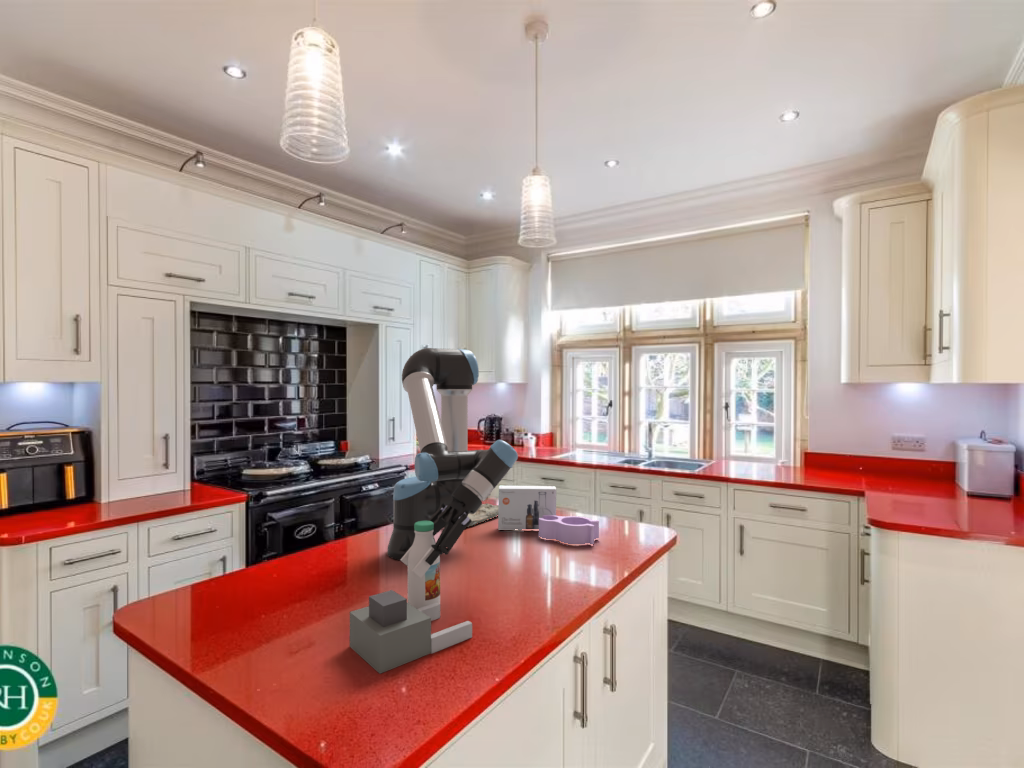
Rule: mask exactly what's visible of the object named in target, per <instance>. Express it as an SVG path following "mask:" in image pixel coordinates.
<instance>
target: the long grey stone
mask: <svg viewBox="0 0 1024 768" xmlns="http://www.w3.org/2000/svg"><path fill="white" fill-rule="evenodd" d="M497 515H498V505H497V504H494V505H493V504H491V503H487V502H486V503H482V505H481V506H480V507H479V509H478V510H477V511H476V512H475V513H474V514H471V513H469V514H468V517H469V518H470V519H471V520H472V522H471V523H470V524H469V525H468V526H467V527H468V528H470V527H469V526H472V527H474V526H476V525H475V524H477V523H480V522H483V521H485V520H487V519H490V518H493V517H496V516H497ZM496 518H497V517H496ZM487 521H488V520H487ZM485 522H486V521H485ZM473 525H474V526H473Z"/></svg>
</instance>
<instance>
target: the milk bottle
mask: <svg viewBox="0 0 1024 768" xmlns="http://www.w3.org/2000/svg"><path fill="white" fill-rule="evenodd" d="M414 529H415V531H414V532H415V539H414V542H413V545H412V547H411V549H410V552H409V556H408V566H407V603H408V604H410V605H412V606H413V607H415V608H416V609H418V608H421V607H424V606H428V605H431V604H434V603H438V604H440V605H441V557H440V556H441V555H439V556H438V558H437V559H436V560H435V561H434V563H433V564H432V565H431V566H430V568H429V569H428V570H427V571H426V573H425V574H424V575H423V576H422V578H420V577H419V576H418V575H417V574H416V573H415V572H413V571H412V570H413V569H414V567H415V566H416V565H417V564H418V562H419V561H420V560H421V559H422V557H423V556H424V555H425V554H426V552H427V551H428V550H429V549H430V547H431V545H435V544H436V543H435V542H436V540H435V541H434V539H435V537H434V538H433V531H434V530H433V529H434V523H433V522H432V521H418V522H416V523H415V524H414ZM433 549H434V548H433Z"/></svg>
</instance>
